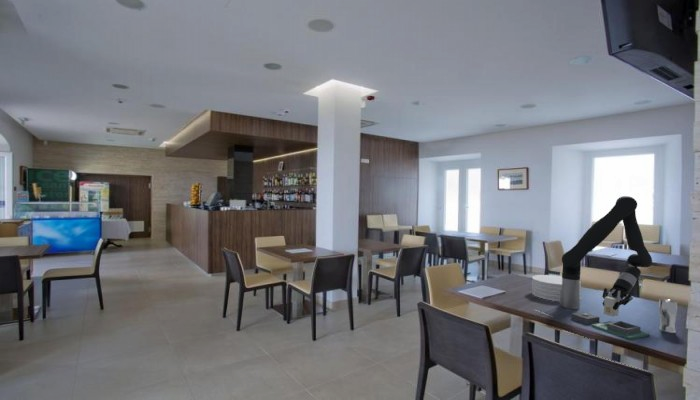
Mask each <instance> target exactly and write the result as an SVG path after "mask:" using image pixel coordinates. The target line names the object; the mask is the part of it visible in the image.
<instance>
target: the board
mask: <svg viewBox="0 0 700 400" xmlns="http://www.w3.org/2000/svg"><path fill="white" fill-rule="evenodd" d="M590 326H591V327H592V328H594V329H598V330H601V331H603V332H606V333H609V334H612V335H615V336H618V337H621V338H624V339H627V340H634V339H640V338H645V337H649V336H650V333H649V332H648V333H647V332H645V331H641V329H642V328H641V326H638V325H635V324H631V323H629V322H625V321H623V320H622V321H621V320H620V321H604V322H599V323H594V324H590Z"/></svg>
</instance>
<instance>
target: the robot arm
mask: <svg viewBox="0 0 700 400" xmlns="http://www.w3.org/2000/svg"><path fill="white" fill-rule="evenodd" d="M637 207H638V202H637V200H636V199H635V198H634V197H631V196H628V195H624V196H620V197H618V198H617V199H616V202H615V204H614V206H613V207H612V208H611V209H610V210H609V212H608V213H606V214H605V215H604V216H602V217H601V218H600V219H599V220H597V221H596V222H595V223H594V224H592V225H591V226H590V227H589V228H588V229H587V230H586V231H585V233H583V235H582V236H581V238H579V240H578V241H577V243H576V244H575V245H574V246H573V247H572V248H571V249H570V250H568V251H565V253H564V254H563V255H562V257H561V263H562V271H561V276H562V289H561V290H560V302H559V305H560V306H561V307H563V308H566V309H569V310H570V309H571V310H579V309H581V307H580V305H581V304H580V303H581V300H580V298H581V297H580V294H581V293H580V290H581V289H580V286H581V285H580V282H581V268H582V267H581V265H582V263H581V262H582V261H583V260H584V258H585V257H586V256H587V255H588V254H589V253H590V252H591V251H592V250H593V249H595V248H596V247H597V246H599V245H601V243H602V242H604V240H605V239H607V237H609V235H610V234H611V233H612V232H613V231H614V230H615V229H616V227H617V226H618V225H619V224H620V223H621V222H622V223H623V226H624V228H623V229H624V233H625V237H626V241H627V247H628V249H629V250H631V251H634V252H636V253H633V254H630V255H628V257H627V259H626V263H625V268H624V269H623V271H622V272H621V274H620V275H619V276H618V277H617V279H616V280H615V282H614V283H613V284H612V288H609V289H607V288H606V287H605V288H603V292H602V298H603V300H604V299H605V297H615V298H617V302H616V303H615V304H614V306H613V309H614V310H616V309H618V308H619V309H620V306H621V305H623V306H626V305H627V304H628V303H629V302H631V301H632V300H633V299H634V298H633V296H632V294H630V292H631V291H632V289H633V288H634V286H635V285H636V282H637V281H638V279H639V277H641V274H642V271H641V269H639V268H650V267H651V266H652V265H653V258H652V256H651V254H650V253H649V251H648V249H647V247H646V246H645V242H644V237H643V234H642V231H641V229H640V226H639V224H638V220H637V216H636V215H637V214H636V209H637ZM601 304H602V306H603V307H604V301H602V303H601Z"/></svg>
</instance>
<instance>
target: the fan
mask: <svg viewBox="0 0 700 400" xmlns="http://www.w3.org/2000/svg"><path fill="white" fill-rule="evenodd" d="M570 319H571V320H573V321H576V322H578V323H580V324H584V325H588V326H589V325H591V324H597V323H600V316H598V315H595V314H592V313H589V312H585V311H579V312H573V313H570Z"/></svg>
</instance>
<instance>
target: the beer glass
mask: <svg viewBox="0 0 700 400" xmlns="http://www.w3.org/2000/svg"><path fill="white" fill-rule="evenodd" d="M658 300H659V301H658V314H659V320H660V325H659V327H658V328H659V329H658V330H660V331H661V332H663V333H669V334H676V332H677V331H676V326H675V324H676V320H677V316H678V302H677V301H676V300H673V299H668V298H659V299H658Z"/></svg>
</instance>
